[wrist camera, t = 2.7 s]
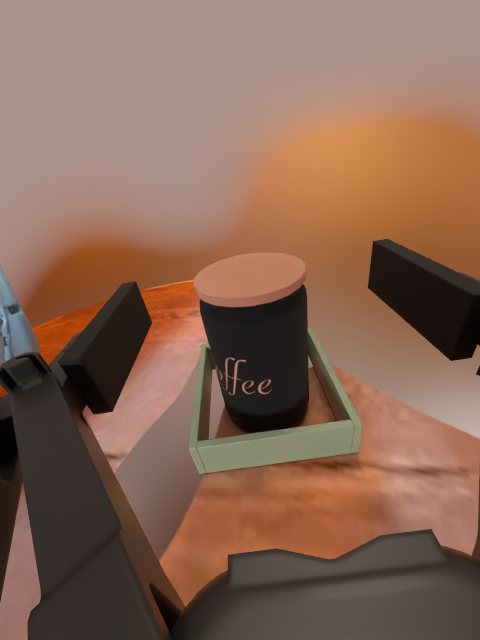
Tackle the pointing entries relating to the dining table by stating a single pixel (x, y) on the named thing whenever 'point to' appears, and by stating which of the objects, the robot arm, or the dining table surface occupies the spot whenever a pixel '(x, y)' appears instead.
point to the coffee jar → (258, 336)
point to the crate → (277, 442)
